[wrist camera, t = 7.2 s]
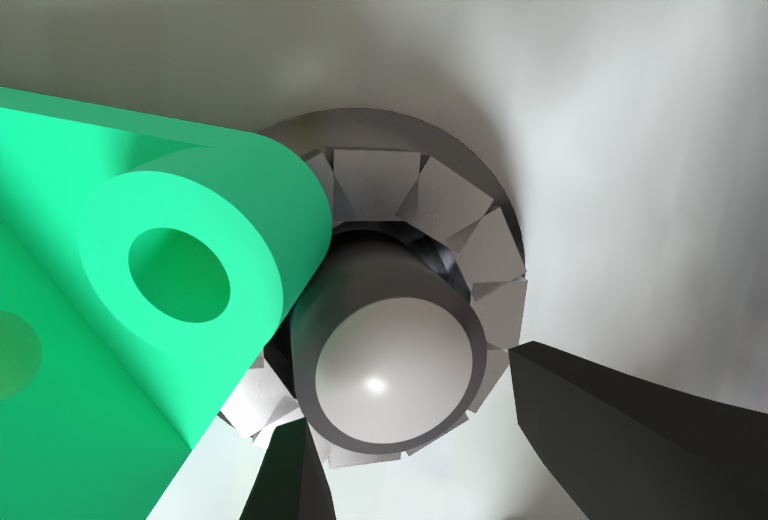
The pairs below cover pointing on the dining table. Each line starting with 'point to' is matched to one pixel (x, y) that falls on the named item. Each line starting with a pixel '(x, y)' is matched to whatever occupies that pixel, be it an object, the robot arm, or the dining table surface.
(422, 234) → the grey knurled ring
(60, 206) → the camera mount
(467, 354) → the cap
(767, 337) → the dining table surface
